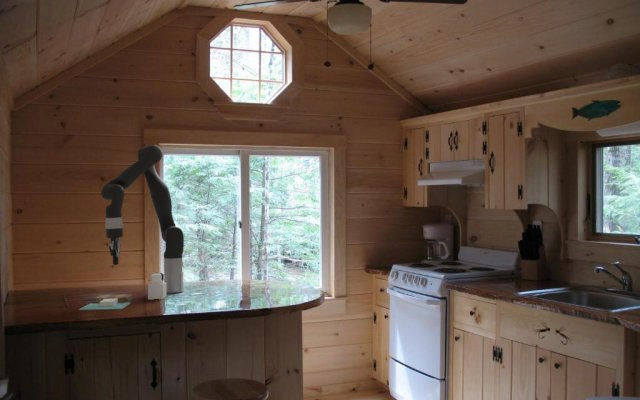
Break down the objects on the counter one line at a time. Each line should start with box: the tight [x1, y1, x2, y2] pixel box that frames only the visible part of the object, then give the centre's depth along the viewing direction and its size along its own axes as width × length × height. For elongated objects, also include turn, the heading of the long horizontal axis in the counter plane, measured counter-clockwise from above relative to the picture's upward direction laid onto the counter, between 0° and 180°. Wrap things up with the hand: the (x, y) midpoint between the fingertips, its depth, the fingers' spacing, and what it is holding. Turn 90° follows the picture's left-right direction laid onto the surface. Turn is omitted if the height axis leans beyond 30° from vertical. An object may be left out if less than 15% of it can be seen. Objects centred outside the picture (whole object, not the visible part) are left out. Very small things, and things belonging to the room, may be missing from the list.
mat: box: [78, 301, 132, 311], centre depth 276 cm, size 18×16×1 cm
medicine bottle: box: [147, 272, 168, 301], centre depth 297 cm, size 7×7×12 cm
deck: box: [93, 293, 134, 303], centre depth 289 cm, size 15×10×2 cm, turn 94°
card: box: [100, 298, 118, 306], centre depth 279 cm, size 9×6×2 cm, turn 7°
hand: (115, 264), depth 291 cm, fingers closed
